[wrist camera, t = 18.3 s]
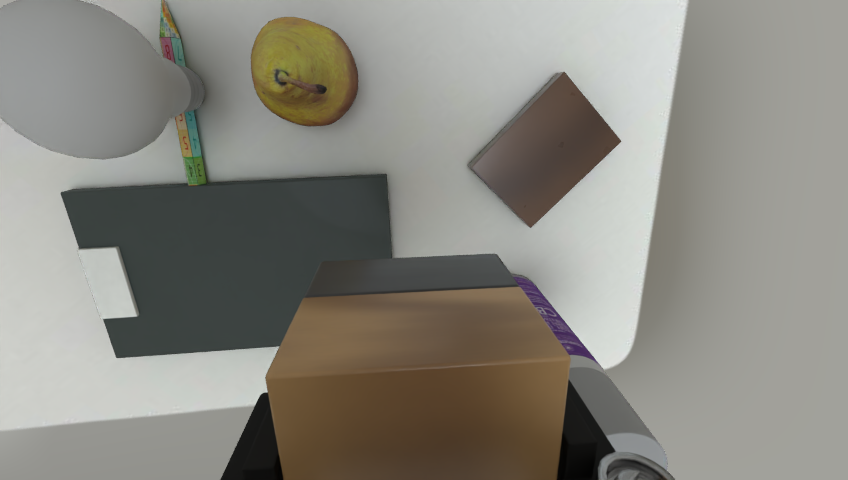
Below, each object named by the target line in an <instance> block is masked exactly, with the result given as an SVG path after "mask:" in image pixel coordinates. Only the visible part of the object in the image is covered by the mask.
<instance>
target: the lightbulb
mask: <svg viewBox="0 0 848 480" xmlns="http://www.w3.org/2000/svg"><path fill="white" fill-rule="evenodd" d="M203 99H204V87H203V84H202V82H201V80H200V78H199V77H198V75H197V74H196V73H195V72H193V71H192V70H191V69H189V68H187V67H183V66H181V65H178V64H175V63H173V62H172V61H171V60H169V59H167V58H164V57H161V56H159V54H158V53H157V52H156V50H155V49H154V48H153V46H152V45H151V43H150V42H149V41H148V40H147V39H146V38H145V37H144V36H143V35H142V34H141V33H140V32H139V31H138V30H137V29H135V28H134V27H133V26H131V25H130V24H129V23H127V22H126V21H124V20H123V19H121V18H120V17H118V16H117V15H115V14H113V13H111V12H109V11H107V10H105V9H103V8H101V7H99V6H97V5H93V4H90V3H87V2H83V1H80V0H16V1H14V2H12V3H9V4H7V5H4V6H3V7H1V8H0V118H1V119H2V120H3V121H4V122H5V123H7V124H8V125H9V126H10V127H11V128H13V129H14V130H15V131H16V132H18V133H19V134H21V135H23V136H24V137H26V138H27V139H29V140H31V141H32V142H34V143H36V144H37V145H39V146H42V147H44V148H46V149H49V150H51V151H54V152H58V153H61V154H65V155H69V156H73V157H77V158H90V159H110V158H117V157H122V156H126V155H129V154H132V153H135V152H137V151H139V150H141V149H142V148H144V147H145V146H147V145H148V144H150V143H151V142H153V141H154V140H155V139H156V138H157V137H158V136H159V135H160V134H161V133H162V132H163V130H164V128H165V126H166V124H167V122H168V120H169V119H170V118H174V117H176V116H178V115H180V114H181V113H184V112H189V111H193V110H195V109H197V108H198V107H199V106H200V105H201V104H202V102H203Z"/></svg>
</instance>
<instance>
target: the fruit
mask: <svg viewBox="0 0 848 480" xmlns="http://www.w3.org/2000/svg"><path fill="white" fill-rule="evenodd" d="M251 71H252V78H253V83H254V87H255V90H256V93H257V95H258V97H259V98H260V100H261V101H262V102H263V104H264V105H265V106H266V107H267V108H268V109H269V110H270V111H272V112H273V113H275V114H276V115H278V116H279V117H281V118H283V119H285V120H287V121H290V122H293V123H296V124H299V125H304V126H324V125H329V124H332V123H334V122H336V121H337V120H339V119H340V118H341V117H342V116H343V115H344V114H345V113H346V112H347V111H348V110H349V108H350V107H351V105H352V104H353V102H354V100H355V98H356V95H357V91H358V74H357V68H356V64H355V61H354V58H353V56H352V54H351V51H350V49H349V48H348V46H347V45H346V43H345V42H344V41H343V39H342V38H341V37H340V36H339V35H338V34H337V33H335V32H334V31H332V30H331V29H329V28H327V27H324V26H322V25H319V24H316V23H314V22H311V21H308V20H305V19H300V18H296V17H281V18H277V19H274V20H272V21H269V22H268V23H267V24H266V25H265V26H264V27H263V28H262V29H261V31H260V32H259V34H258V36H257V38H256V40H255V42H254V45H253V49H252V54H251Z"/></svg>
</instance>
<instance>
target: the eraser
mask: <svg viewBox="0 0 848 480" xmlns="http://www.w3.org/2000/svg"><path fill="white" fill-rule="evenodd" d="M570 362H571V358H570V355H569V354H568V353H567V351H566V350H565V348H564V347H563V346H562V344H561V343H560V341H559V340H558V339H557V337H556V336H555V334H554V333H553V332H552V330H551V329H550V327H549V326H548V325H547V323H546V322H545V320H544V319H543V318H542V316H541V315H540V313H539V312H538V311H537V309H536V308H535V306H534V305H533V304H532V302H531V301H530V299H529V298H528V297H527V295H526V294H525V292H524V291H523V290H522V288H521V287H519V285H518V283H517V282H516V280H515V279H514V278H513V276H512V275H511V273H510V272H509V271H508V269H507V268H506V266H505V265H504V264H503V262H502V261H501V259H500V258H499V257H498V255H497V254H477V255H455V256H433V257H411V258H389V259H367V260H345V261H324V262H321V263H320V265H319V267H318V269H317V271H316V273H315V275H314V277H313V279H312V281H311V283H310V286H309V288H308V290H307V292H306V294H305V296H304V298H303V299H302V301H301V303H300V306H299V308H298V310H297V312H296V314H295V316H294V318H293V320H292V322H291V324H290V326H289V328H288V330H287V333H286V335H285V337H284V339H283V341H282V343H281V345H280V347H279V349H278V351H277V353H276V355H275V358H274V360H273V362H272V364H271V366H270V368H269V370H268V372H267V374H266V377H265V379H266V384H267V390H268V395H269V401H270V407H271V412H272V418H273V423H274V429H275V435H276V440H277V446H278V451H279V457H280V462H281V468H282V474H283V479H284V480H557V474H558V465H559V457H560V448H561V439H562V431H563V422H564V414H565V405H566V396H567V388H568V379H569V370H570Z"/></svg>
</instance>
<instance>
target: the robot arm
mask: <svg viewBox="0 0 848 480" xmlns="http://www.w3.org/2000/svg"><path fill="white" fill-rule="evenodd" d="M221 480H284V479H283V474H282V468H281V462H280V457H279V451H278V446H277V440H276V435H275V429H274V423H273V418H272V412H271V407H270V401H269V395H268V393H263V394H261V396H260V397H259V399H258V401H257V403H256V405H255V407H254V410H253V412H252V414H251V416H250V418H249V420H248V423H247V424H246V427H245V429H244V431H243V433H242V435H241V437H240V440H239V442H238V443H237V446H236V448H235V450H234V452H233V454H232V456H231V458H230V461H229V463H228V465H227V467H226V469H225V471H224V473H223V476H222V478H221ZM557 480H675V479H674V478H673V476H672V475H671V474H670V473H669V472H668V471H666V470H665V469H664V468H663V467H662V466H660V465H659V464H657V463H656V462H654V461H653V460H651V459H648V458H646V457H644V456H641V455H639V454H634V453H630V452H616V451H615V449H614V448H613V446H612V445H611V443H610V442H609V440H608V439H607V437H606V435H605V434H604V432H603V431H602V429H601V428H600V426H599V425H598V423H597V422H596V420H595V419H594V417H593V415H592V414H591V412H590V411H589V409H588V408H587V406H586V405H585V403H584V402H583V400H582V398H581V397H580V395H579V394H578V392H577V391H576V389H575V388H574V386H573V385H572V383H571V382H570V380H569V379H568V388H567V396H566V405H565V414H564V422H563V431H562V439H561V448H560V457H559V465H558V474H557Z"/></svg>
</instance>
